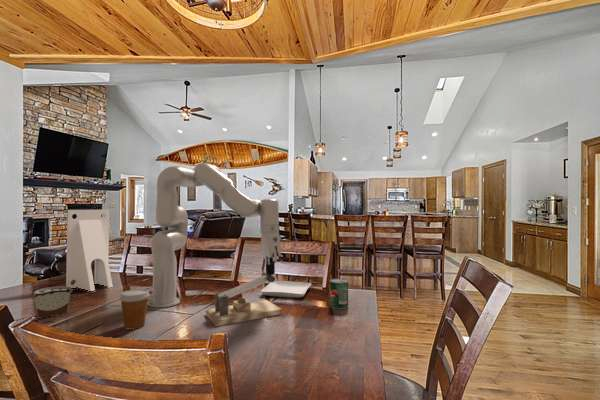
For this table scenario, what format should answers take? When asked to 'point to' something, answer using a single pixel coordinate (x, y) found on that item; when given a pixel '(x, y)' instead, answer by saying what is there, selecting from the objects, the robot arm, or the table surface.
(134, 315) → the disposable coffee cup
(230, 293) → the press lever
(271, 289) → the salad plate
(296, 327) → the table surface
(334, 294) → the canned tomato
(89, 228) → the white arched stand
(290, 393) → the table surface
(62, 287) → the food container
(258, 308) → the press base
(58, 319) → the table surface
